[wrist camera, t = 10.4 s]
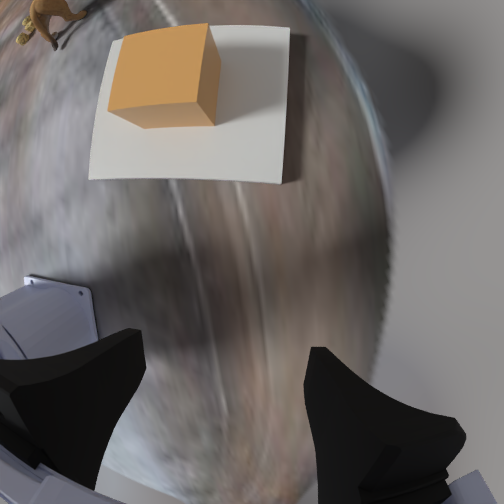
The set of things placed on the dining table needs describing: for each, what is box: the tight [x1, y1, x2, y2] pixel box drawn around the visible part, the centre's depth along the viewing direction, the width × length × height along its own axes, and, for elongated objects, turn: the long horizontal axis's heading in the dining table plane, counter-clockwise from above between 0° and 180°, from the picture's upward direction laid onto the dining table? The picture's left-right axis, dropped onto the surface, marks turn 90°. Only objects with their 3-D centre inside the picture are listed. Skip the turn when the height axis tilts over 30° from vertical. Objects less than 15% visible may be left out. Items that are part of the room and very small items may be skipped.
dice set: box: [16, 15, 36, 46], centre depth 14 cm, size 5×5×2 cm
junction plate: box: [89, 25, 290, 185], centre depth 15 cm, size 14×12×5 cm
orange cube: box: [107, 23, 221, 129], centre depth 13 cm, size 5×5×5 cm
